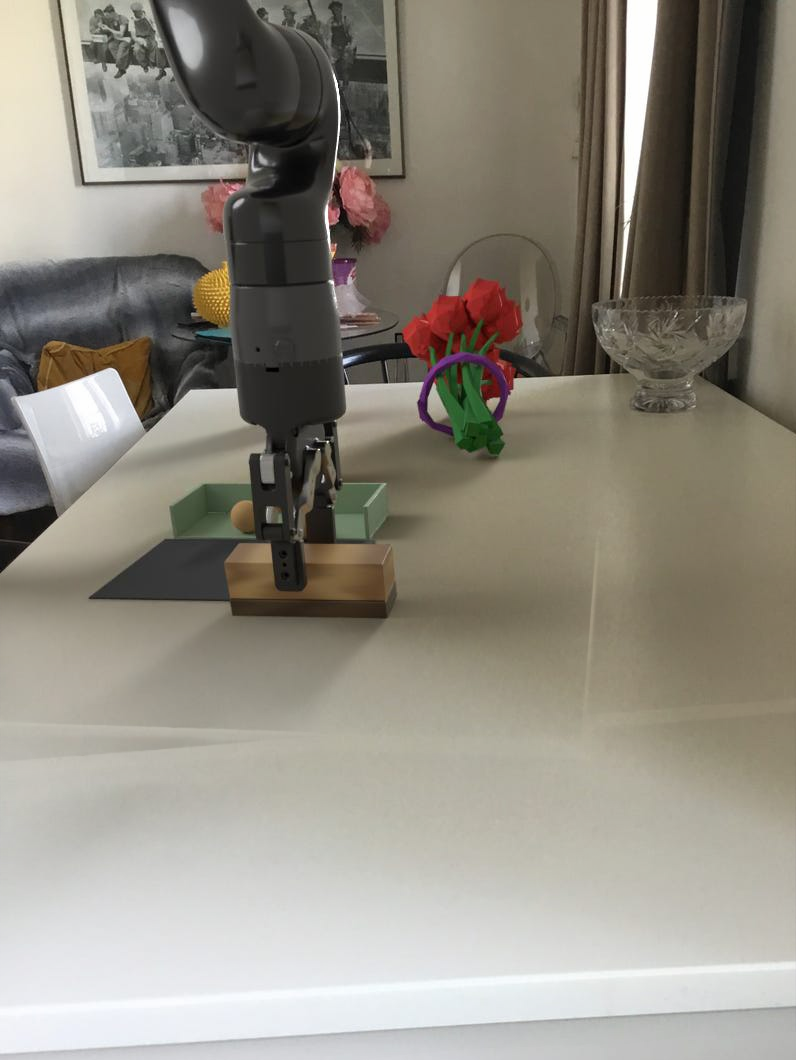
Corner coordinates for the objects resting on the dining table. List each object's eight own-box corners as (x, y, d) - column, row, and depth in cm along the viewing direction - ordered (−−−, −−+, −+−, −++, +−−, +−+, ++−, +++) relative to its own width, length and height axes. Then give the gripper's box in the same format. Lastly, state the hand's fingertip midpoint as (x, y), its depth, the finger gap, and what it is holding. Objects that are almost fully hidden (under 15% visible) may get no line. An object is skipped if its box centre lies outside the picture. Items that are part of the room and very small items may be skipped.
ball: (235, 533, 100) (227, 532, 97) (234, 502, 100) (226, 499, 97) (267, 532, 100) (259, 531, 97) (265, 501, 100) (258, 498, 97)
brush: (232, 617, 80) (222, 563, 78) (248, 594, 83) (239, 541, 81) (387, 620, 78) (381, 565, 76) (397, 596, 82) (392, 543, 80)
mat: (89, 600, 84) (88, 597, 84) (165, 541, 98) (165, 538, 98) (332, 604, 82) (331, 601, 82) (375, 543, 96) (375, 540, 96)
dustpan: (369, 541, 96) (367, 506, 95) (174, 539, 99) (168, 505, 97) (403, 494, 111) (401, 463, 110) (232, 494, 114) (228, 463, 112)
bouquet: (419, 511, 127) (405, 412, 152) (554, 503, 129) (518, 406, 153) (412, 353, 116) (398, 273, 140) (560, 345, 117) (520, 268, 142)
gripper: (267, 337, 80) (287, 540, 87) (198, 366, 67) (227, 602, 74) (363, 336, 79) (376, 542, 86) (312, 366, 66) (332, 605, 73)
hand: (308, 570), depth 80 cm, fingers open, 8 cm apart
